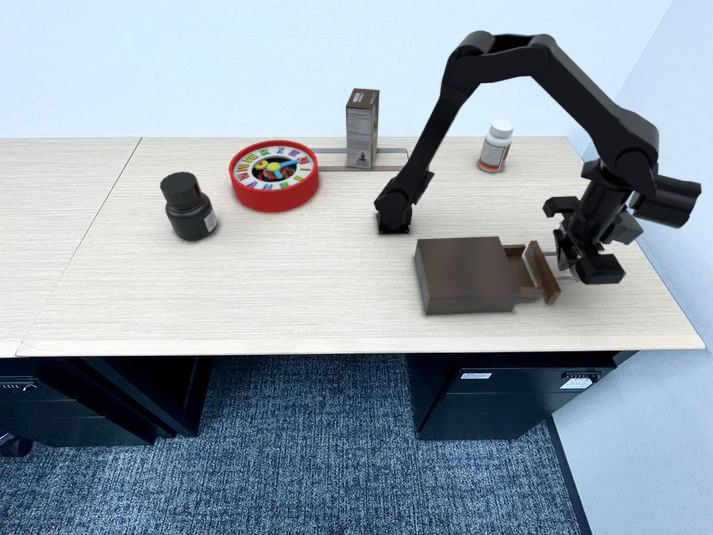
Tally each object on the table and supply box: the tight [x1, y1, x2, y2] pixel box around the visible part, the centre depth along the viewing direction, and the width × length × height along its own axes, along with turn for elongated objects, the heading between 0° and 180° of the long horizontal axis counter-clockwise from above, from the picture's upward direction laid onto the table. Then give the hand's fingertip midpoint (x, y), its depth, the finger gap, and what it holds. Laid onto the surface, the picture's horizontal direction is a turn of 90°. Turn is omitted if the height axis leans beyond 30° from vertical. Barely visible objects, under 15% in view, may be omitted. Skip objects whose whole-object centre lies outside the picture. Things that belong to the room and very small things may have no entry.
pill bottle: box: [478, 118, 515, 173], centre depth 96 cm, size 6×6×11 cm
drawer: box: [502, 239, 582, 305], centre depth 74 cm, size 20×12×4 cm, turn 93°
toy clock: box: [228, 139, 320, 214], centre depth 93 cm, size 20×6×20 cm
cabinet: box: [413, 235, 521, 316], centre depth 73 cm, size 16×14×6 cm
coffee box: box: [345, 87, 381, 170], centre depth 96 cm, size 9×6×16 cm
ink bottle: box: [159, 171, 219, 242], centre depth 81 cm, size 10×9×12 cm
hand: (561, 269), depth 74 cm, fingers closed, pressing on drawer
